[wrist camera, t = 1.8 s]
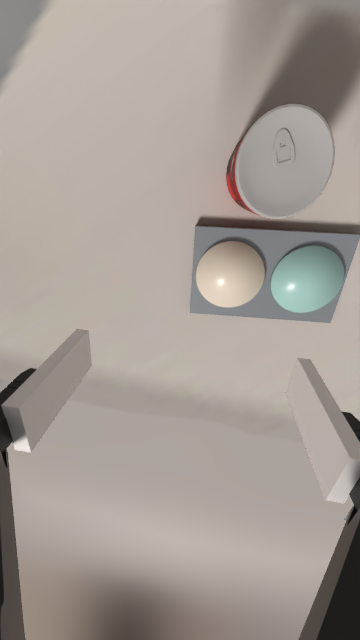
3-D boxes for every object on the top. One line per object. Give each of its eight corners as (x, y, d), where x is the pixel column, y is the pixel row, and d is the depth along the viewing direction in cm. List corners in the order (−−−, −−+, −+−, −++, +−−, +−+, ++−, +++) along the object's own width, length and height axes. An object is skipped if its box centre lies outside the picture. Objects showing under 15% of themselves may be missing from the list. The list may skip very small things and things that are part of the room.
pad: (264, 308, 36) (265, 310, 36) (277, 243, 32) (279, 244, 32) (329, 313, 36) (331, 314, 35) (352, 247, 32) (354, 248, 31)
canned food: (277, 116, 28) (317, 75, 18) (302, 188, 30) (349, 187, 21) (213, 159, 30) (218, 144, 20) (242, 222, 33) (258, 236, 23)
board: (190, 309, 39) (189, 314, 37) (195, 225, 33) (195, 226, 32) (326, 319, 37) (332, 324, 36) (355, 233, 32) (363, 235, 30)
